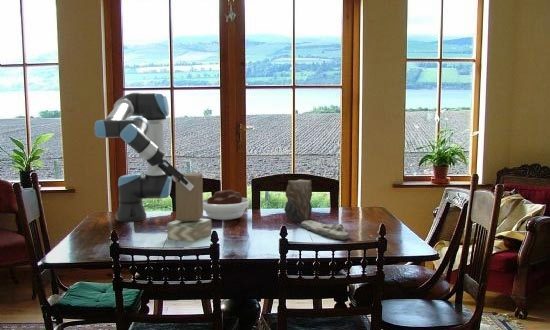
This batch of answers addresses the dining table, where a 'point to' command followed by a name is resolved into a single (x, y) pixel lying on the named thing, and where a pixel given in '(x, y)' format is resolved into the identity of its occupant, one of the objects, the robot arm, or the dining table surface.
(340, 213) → the dining table surface
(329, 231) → the elongated rock
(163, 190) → the robot arm
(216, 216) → the white bowl of dessert
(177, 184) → the wooden block
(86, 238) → the dining table surface
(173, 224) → the birch step
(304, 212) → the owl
